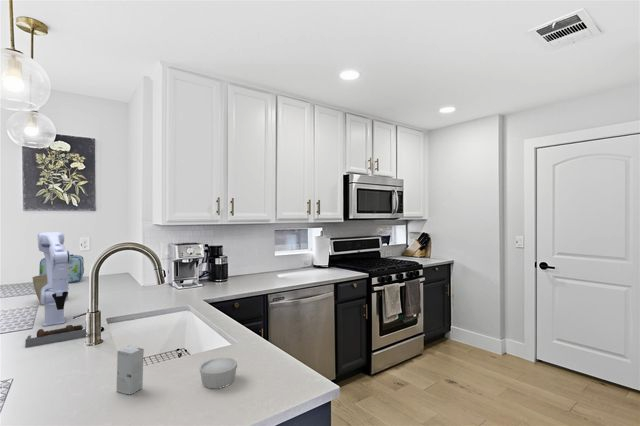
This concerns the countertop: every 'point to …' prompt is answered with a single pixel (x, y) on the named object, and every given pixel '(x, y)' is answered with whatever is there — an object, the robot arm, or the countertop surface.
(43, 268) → the lunch box
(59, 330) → the bolt
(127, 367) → the skincare box
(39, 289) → the plant pot
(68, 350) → the countertop surface
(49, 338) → the bracket
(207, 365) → the ramekin
